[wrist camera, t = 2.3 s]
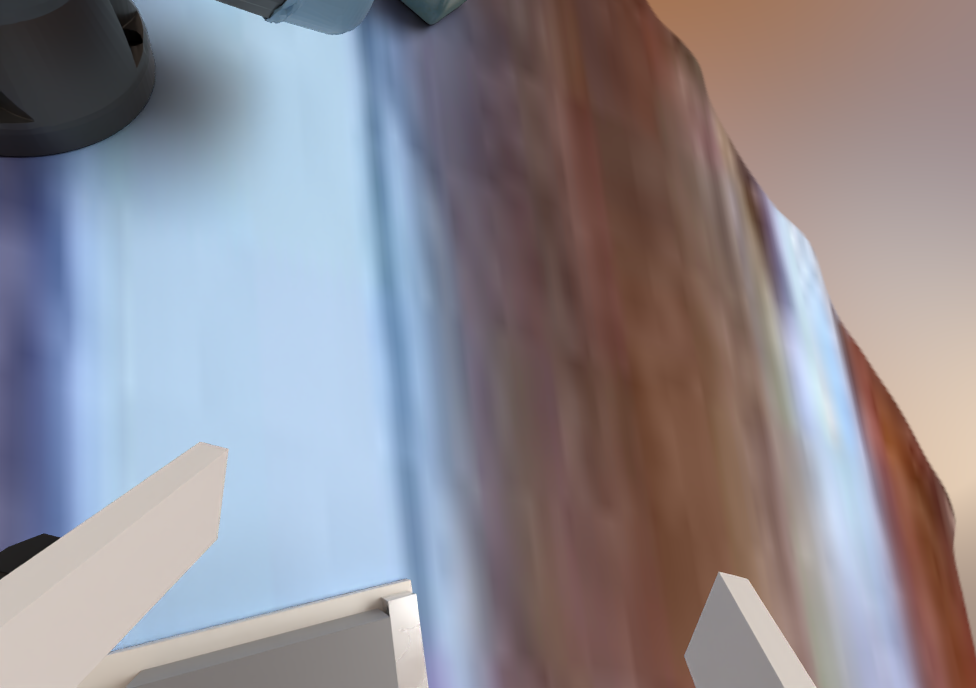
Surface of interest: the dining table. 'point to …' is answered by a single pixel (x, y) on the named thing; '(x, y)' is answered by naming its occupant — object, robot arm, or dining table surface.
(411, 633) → the metal rail
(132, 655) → the mounting board
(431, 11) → the flower pot
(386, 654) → the block
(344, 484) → the dining table surface
